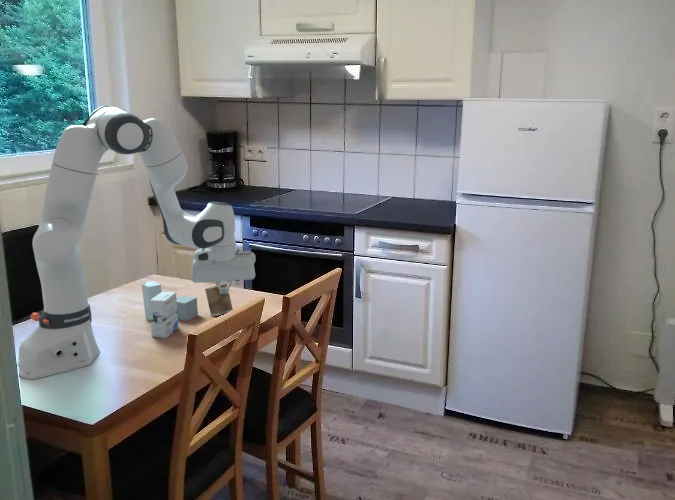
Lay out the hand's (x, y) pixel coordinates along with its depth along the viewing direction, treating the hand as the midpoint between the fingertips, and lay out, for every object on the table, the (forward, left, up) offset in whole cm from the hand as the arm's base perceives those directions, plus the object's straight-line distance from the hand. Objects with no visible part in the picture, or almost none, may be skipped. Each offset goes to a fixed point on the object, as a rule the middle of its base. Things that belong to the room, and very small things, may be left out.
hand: (224, 293), depth 204 cm
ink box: (-21, +3, -8) cm, 23 cm away
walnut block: (0, +2, -7) cm, 7 cm away
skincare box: (-17, +15, -8) cm, 24 cm away
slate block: (-9, +10, -8) cm, 15 cm away
